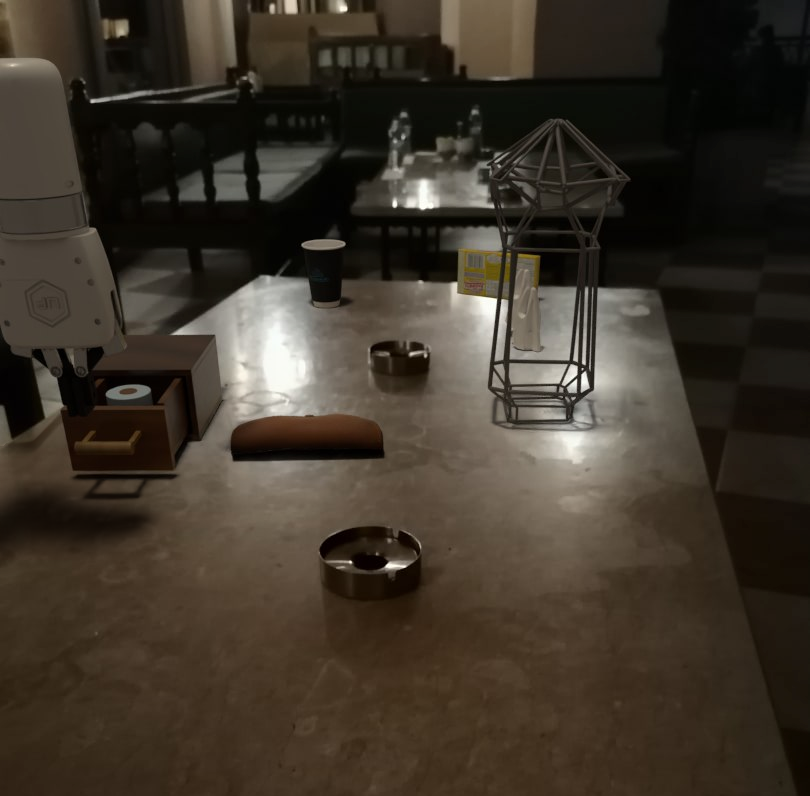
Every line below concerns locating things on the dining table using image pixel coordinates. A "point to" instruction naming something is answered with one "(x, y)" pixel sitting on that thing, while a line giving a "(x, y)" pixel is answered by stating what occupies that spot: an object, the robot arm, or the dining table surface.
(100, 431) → the drawer
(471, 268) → the candy box
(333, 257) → the dixie cup
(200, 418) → the cabinet
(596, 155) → the geometric lantern
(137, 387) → the paper roll
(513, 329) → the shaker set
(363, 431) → the sunglasses case
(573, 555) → the dining table surface
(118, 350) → the robot arm
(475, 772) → the dining table surface
